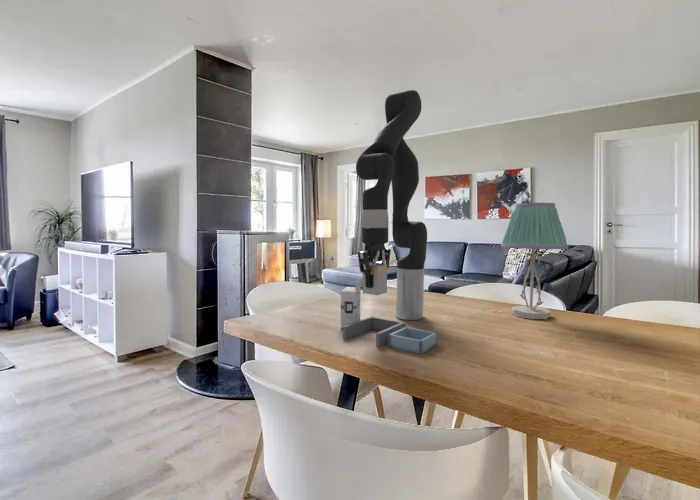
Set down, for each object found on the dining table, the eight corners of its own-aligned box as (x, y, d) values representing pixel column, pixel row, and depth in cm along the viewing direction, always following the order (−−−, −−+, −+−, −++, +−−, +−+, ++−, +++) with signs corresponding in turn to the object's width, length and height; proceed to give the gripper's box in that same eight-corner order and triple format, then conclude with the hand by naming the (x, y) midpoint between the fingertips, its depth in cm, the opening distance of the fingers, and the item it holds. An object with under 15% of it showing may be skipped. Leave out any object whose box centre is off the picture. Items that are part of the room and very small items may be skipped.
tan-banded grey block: (372, 290, 111) (372, 263, 110) (387, 292, 108) (387, 264, 107) (362, 293, 106) (362, 265, 106) (377, 295, 103) (377, 266, 103)
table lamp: (578, 323, 125) (584, 202, 122) (512, 322, 125) (517, 201, 122) (545, 308, 146) (550, 205, 144) (489, 308, 146) (493, 205, 144)
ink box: (345, 321, 125) (346, 277, 124) (360, 322, 124) (361, 277, 123) (340, 328, 116) (340, 281, 115) (355, 329, 115) (356, 281, 114)
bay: (371, 327, 118) (371, 316, 117) (405, 334, 111) (405, 322, 110) (343, 338, 106) (343, 326, 106) (379, 346, 99) (379, 333, 99)
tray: (405, 337, 107) (405, 326, 107) (437, 344, 101) (437, 332, 101) (388, 346, 99) (388, 334, 99) (421, 354, 94) (421, 341, 93)
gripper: (377, 225, 113) (377, 281, 115) (349, 226, 102) (349, 288, 103) (399, 225, 109) (398, 284, 110) (372, 226, 97) (372, 291, 99)
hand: (374, 285), depth 107 cm, fingers closed on tan-banded grey block, 5 cm apart
